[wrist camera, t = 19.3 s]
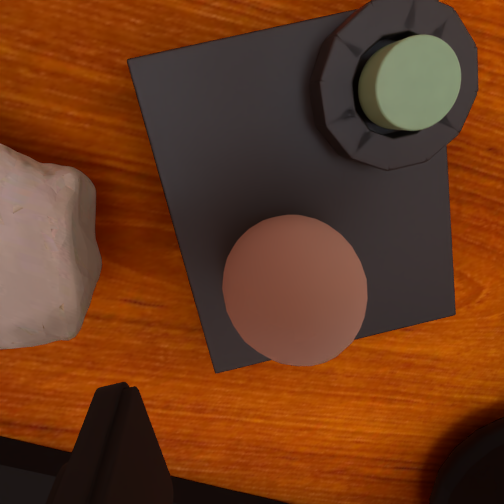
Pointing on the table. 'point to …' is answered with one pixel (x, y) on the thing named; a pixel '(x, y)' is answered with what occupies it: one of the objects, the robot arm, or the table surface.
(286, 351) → the egg
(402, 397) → the table surface
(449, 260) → the grey push button base
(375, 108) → the button
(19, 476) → the sushi set
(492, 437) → the container
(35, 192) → the ceramic sculpture
